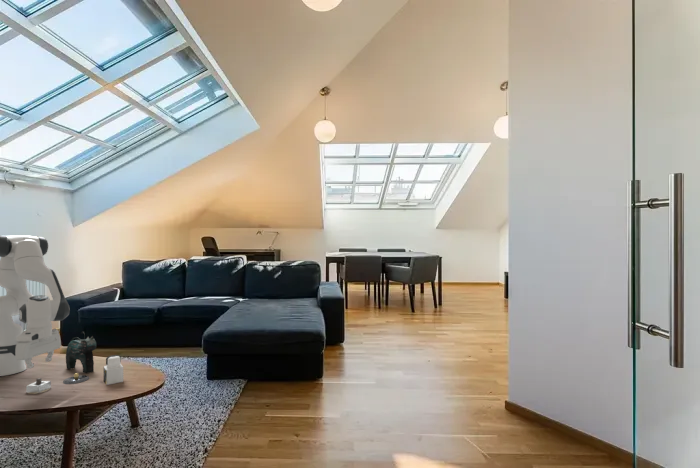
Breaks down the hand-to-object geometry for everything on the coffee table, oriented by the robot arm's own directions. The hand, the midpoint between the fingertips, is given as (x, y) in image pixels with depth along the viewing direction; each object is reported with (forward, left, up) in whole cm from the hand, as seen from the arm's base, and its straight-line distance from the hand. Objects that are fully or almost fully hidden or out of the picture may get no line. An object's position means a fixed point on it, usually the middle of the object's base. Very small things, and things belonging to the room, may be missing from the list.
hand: (39, 364), depth 176 cm
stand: (0, 0, -12) cm, 12 cm away
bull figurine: (-4, +29, -13) cm, 32 cm away
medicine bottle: (+24, +15, -13) cm, 31 cm away
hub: (+7, +13, -12) cm, 19 cm away
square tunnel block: (0, 0, -11) cm, 11 cm away
